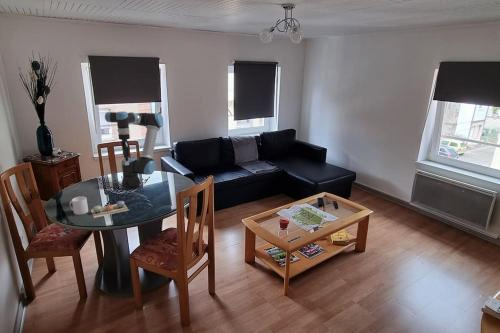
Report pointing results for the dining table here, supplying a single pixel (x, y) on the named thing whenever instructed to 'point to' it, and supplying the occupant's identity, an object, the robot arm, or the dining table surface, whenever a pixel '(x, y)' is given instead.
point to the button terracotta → (109, 207)
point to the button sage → (97, 209)
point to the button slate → (120, 204)
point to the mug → (79, 205)
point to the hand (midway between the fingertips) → (127, 164)
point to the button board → (104, 212)
